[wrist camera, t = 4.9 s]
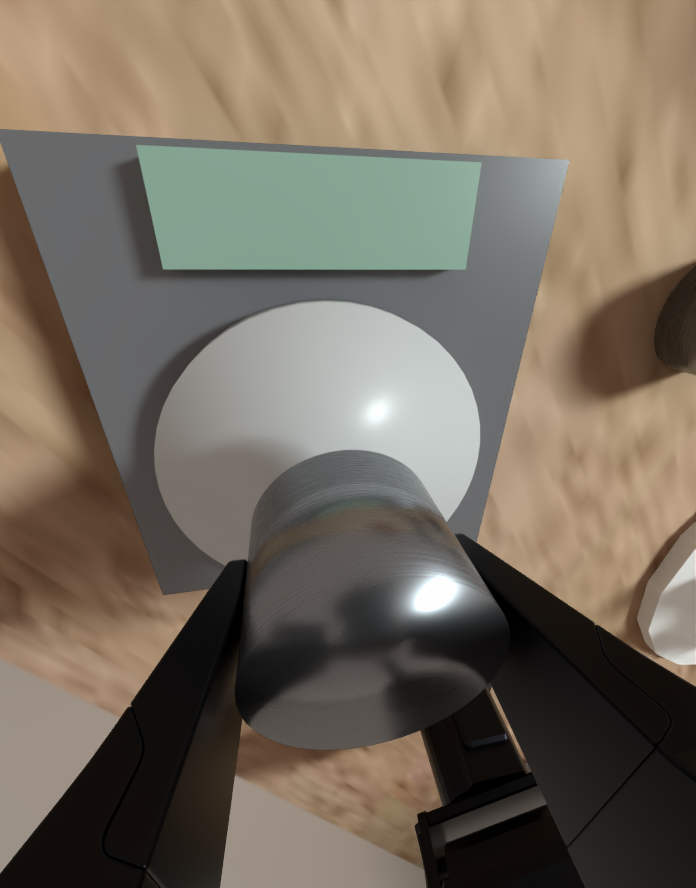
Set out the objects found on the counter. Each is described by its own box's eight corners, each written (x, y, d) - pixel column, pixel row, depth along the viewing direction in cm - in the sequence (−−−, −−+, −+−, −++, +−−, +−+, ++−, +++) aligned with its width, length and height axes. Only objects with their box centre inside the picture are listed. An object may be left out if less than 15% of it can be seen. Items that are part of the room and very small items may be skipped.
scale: (455, 525, 19) (484, 570, 16) (174, 559, 17) (155, 616, 14) (526, 173, 12) (597, 151, 9) (47, 150, 9) (-41, 113, 7)
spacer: (420, 579, 11) (482, 721, 8) (261, 601, 11) (253, 770, 7) (440, 442, 9) (541, 560, 6) (237, 458, 8) (209, 607, 5)
